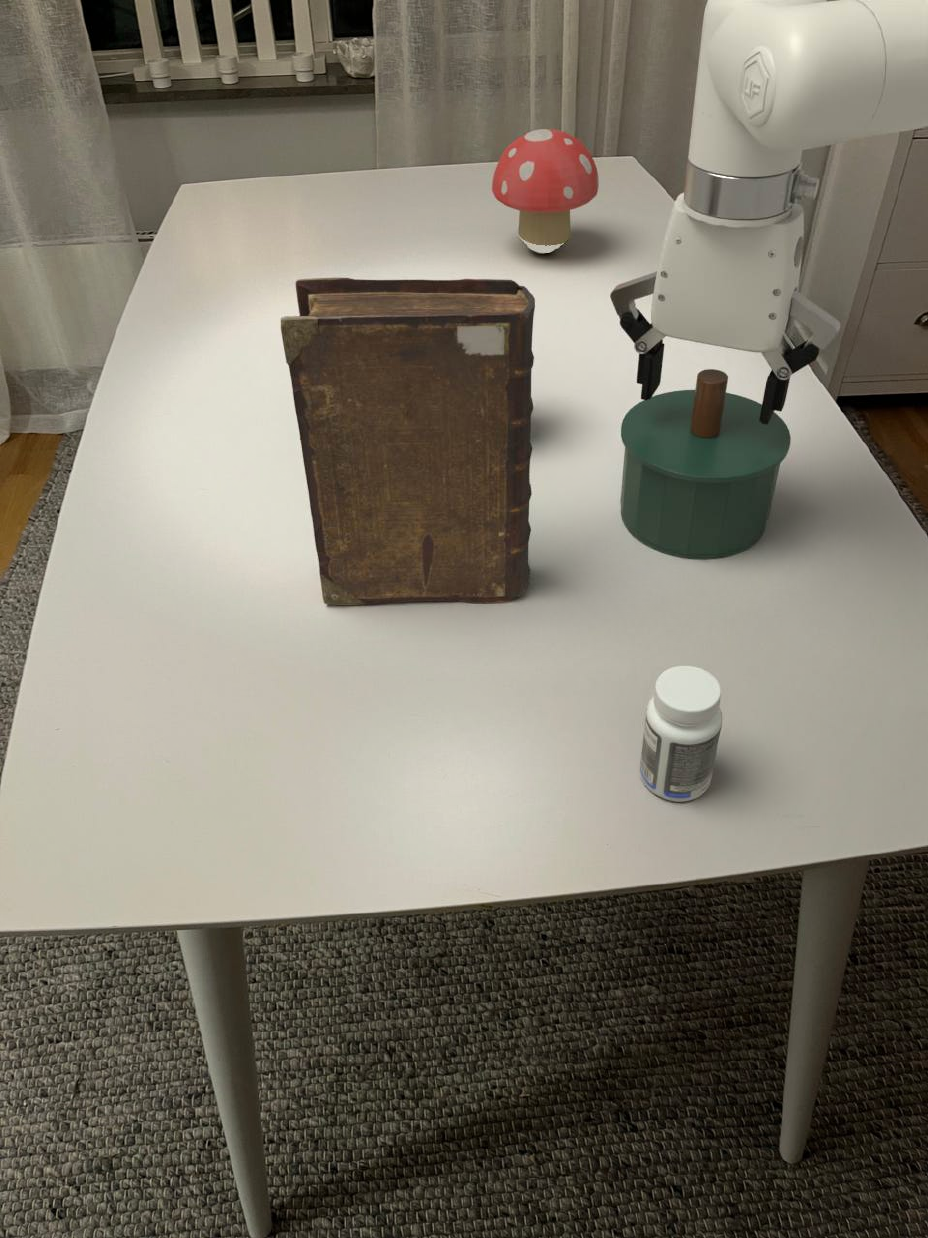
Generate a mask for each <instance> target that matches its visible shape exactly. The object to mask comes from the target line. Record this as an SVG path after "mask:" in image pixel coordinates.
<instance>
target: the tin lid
mask: <svg viewBox="0 0 928 1238" xmlns="http://www.w3.org/2000/svg"><path fill="white" fill-rule="evenodd" d="M728 381H729V376H728V374H727V373H726V372H725V371H723V370H719V369H714V368H708V369H707V368H706V369H703V370H701V371H699V372H698V373H697V376H696V381H695V389H682V390H673V391H667V392H662V393H659V394H655V395H653V396H652V397H651V399H648V400H641V401H639V402H638V403H637V404H635V405H633V406H632V407H631V408H630V409H629V410H628V411H627V413H626V414H625V415H624V417H623V419H622V421H621V426H620V438H621V442H622V444H623V446H624V449H625V448H626V449H627V450H628V452H629V453H630V454H631V455H632V456H633V457H634V458H635V459H636V460H638V461H639V462H640V463H642V464H643V465H645V466H647V467H649V468H651V469H653V470H655V471H657V472H659V473H662V474H665V475H668V476H671V477H675V478H679V479H684V480H689V481H696V482H709V483H722V482H734V481H741V480H746V479H750V478H753V477H757V476H759V475H762V474H764V473H767V472H768V471H770V470H772V469H774V468H775V467H776V466H777V465H779V464H780V465H781V463H782V462H783V461H784V460H785V459H786V457H787V455H788V453H789V450H790V447H791V441H792V440H791V432H790V429H789V428H788V425H787V424H786V423H785V421H784V420H783V419H782V418H781V417H780V416H779V415H778V414H777V413H776V411H774V413H773V415H772V417H771V419H770V421H769V423H768V425H767V424H762V423H761V421H759V418H760V413H761V407H762V403H760V402H758V401H756V400H754V399H750V398H748V397H745V396H742V395H738V394H735V393H730V392H727V389H728V388H727V387H728Z"/></svg>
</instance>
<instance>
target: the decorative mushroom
mask: <svg viewBox="0 0 928 1238" xmlns="http://www.w3.org/2000/svg"><path fill="white" fill-rule="evenodd" d="M494 169H495V170H494V172H493V177H492V183H491V191H492V194H493V196H494V198H495V199H496V200H497V201H498V202H500V203H501V204H502V205H504V206H505V207H507V208H510V209H513V210H516V211H519V217H518V234H519V236H520V237H521V238H522V239H523V240H525V241H527V242H529V243H532V244H536V245H545V246H547V245H549V246H550V245H557V244H562V243H564V242H566V241H567V240H568V239H569V238H570V239H571V210H576V209H579V208H580V207H583V206H585V205H587V204H589V203H590V202H591V201H592V200H593V199H594V198H595V197H596V196H597V195H598V192H599V188H600V187H599V182H600V181H599V173H598V167H597V165H596V163H595V160H594V158H593V157H592V154H591V153H590V152H589V150H588V149H587V148H586V146H585V145H584V144H583V142H581V141H580V140H579V139H578V138H576V137H575V136H574V135H571V134H570V133H568V132H565V131H562V130H559V129H555V128H554V129H553V128H540V129H535V130H532V131H530V132H526V133H524V134H523V135H521V136H519V137H518V138H516V139H515V140H514V141H512V142H511V143H510V144H509V145H508V146H507V147H506V149H505V150H503V152H502V154H501V156H500V158H499V160H498V162H497V164H496V167H495V168H494ZM518 234H517V235H518ZM570 239H569V240H570ZM569 240H568V241H569ZM568 241H567V242H568ZM567 242H566V243H567Z"/></svg>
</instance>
